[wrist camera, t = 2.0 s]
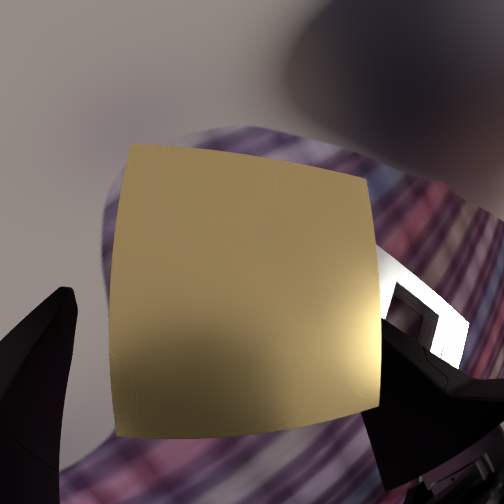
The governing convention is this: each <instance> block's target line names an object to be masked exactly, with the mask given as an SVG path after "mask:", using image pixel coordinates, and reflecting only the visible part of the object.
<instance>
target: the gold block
mask: <svg viewBox="0 0 504 504" xmlns="http://www.w3.org/2000/svg"><path fill="white" fill-rule="evenodd" d="M109 354H110V377H111V390H112V401H113V410H114V419H115V427H116V434H117V436H123V437H135V438H153V439H202V438H220V437H233V436H243V435H252V434H260V433H267V432H274V431H280V430H286V429H292V428H297V427H302V426H307V425H312V424H316V423H321V422H325V421H329V420H333V419H337V418H341V417H344V416H348V415H351V414H355V413H358V412H362V411H365V410H368V409H371V408H374V407H377V406H379V396H380V378H381V306H380V287H379V273H378V262H377V251H376V242H375V234H374V226H373V219H372V212H371V205H370V199H369V193H368V187H367V182H366V179H364V178H360V177H356V176H352V175H348V174H344V173H340V172H335V171H331V170H326V169H322V168H317V167H312V166H308V165H303V164H298V163H292V162H287V161H282V160H276V159H270V158H264V157H258V156H252V155H245V154H238V153H231V152H223V151H215V150H207V149H197V148H188V147H177V146H164V145H148V144H131V145H130V149H129V154H128V158H127V163H126V168H125V173H124V178H123V183H122V189H121V194H120V200H119V207H118V213H117V220H116V228H115V236H114V245H113V255H112V267H111V281H110V302H109Z"/></svg>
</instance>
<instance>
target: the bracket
mask: <svg viewBox="0 0 504 504" xmlns="http://www.w3.org/2000/svg"><path fill="white" fill-rule="evenodd" d="M376 251H377V262H378V273H379V287H380V306H381V317H382V318H383V319H385V317H386V314H387V311H388V308H389V304H390V301H391V298H392V294H393V295H394V296H396V297H397V298H398V299H400V300H401V301H403V302H404V303H405V304H407V305H408V306H409V307H411V308H412V309H413V310H415V311H416V312H418V313H419V314H420V315H422V316H423V321H422V324H421V328H420V331H419V335H418V338H417V342H418V343H419V344H421V345H422V347H423V346H424V347H425V348H427V349H428V350H429V351H431V352H432V353H434V354H435V355H437V356H438V357H440V358H441V359H443V360H445V361H446V362H448V363H449V364H451V365H453V366H454V367H456V368H458V366H459V362H460V359H461V355H462V351H463V347H464V343H465V339H466V334H467V329H468V324H469V323H468V322H467V321H466V320H465V319H464V318H463V317H462V316H460V315H459V314H458V313H457V312H456V311H455V310H454V309H453V308H452V307H451V306H450V305H448V304H447V303H446V302H445V301H444V300H443V299H442V298H441V297H439V296H438V295H437V294H436V293H435V292H434V291H433V290H431V289H430V288H429V287H428V286H427V285H426V284H424V283H423V282H422V281H421V280H420V279H419V278H417V277H416V276H415V275H414V274H413V273H411V272H410V271H409V270H408V269H406V268H405V267H404V266H403V265H402V264H400V263H399V262H398V261H397V260H395V259H394V258H393V257H392V256H390V255H389V254H388V253H386V252H385V251H384V250H383V249H381V248H380V247H379V246H377V245H376Z"/></svg>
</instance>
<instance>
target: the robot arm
mask: <svg viewBox="0 0 504 504" xmlns="http://www.w3.org/2000/svg"><path fill="white" fill-rule="evenodd" d="M77 315H78V308H77V303H76V299H75V295H74V291H73V289H72V288H70V287H59V288H58V289H57V290H56V291H55V292H53V293H52V294H51V295H50V296H49V297H48V298H46V299H45V300H44V301H43V302H42V303H41V304H40V305H38V306H37V307H36V308H35V309H34V310H33V311H32V312H31V313H29V314H28V316H26V317H25V318H24V319H23V320H22V321H21V322H20V323H19V324H18V325H16V326H15V327H14V328H13V329H12V330H11V331H10V332H9V333H8V334H7V335H6V336H5V337H4V338H3V339H2V340H1V341H0V504H60V500H59V452H60V436H61V426H62V416H63V408H64V400H65V394H66V388H67V382H68V376H69V371H70V365H71V360H72V355H73V345H74V337H75V329H76V322H77ZM361 415H362V418H363V421H364V424H365V427H366V430H367V433H368V436H369V439H370V443H371V446H372V447H373V448H372V449H373V453H374V456H375V459H376V463H377V466H378V469H379V473H380V476H381V480H382V483H383V487H384V490H385V492H388V491H390V490H392V489H395V488H397V487H399V486H401V485H404V484H406V483H408V482H410V481H412V480H414V479H416V478H418V477H420V476H421V477H422V479H423V480H422V481H421V482H419V483H418V484H416V485H414V486H413V487H411V488H410V489H408V491H407V494H406V497H405V500H404V503H403V504H504V378H501V379H486V380H482V379H476V378H473V377H471V376H469V375H467V374H466V373H464V372H462V371H461V370H459V369H458V368H456V367H454V366H453V365H451V364H449V363H448V362H446V361H445V360H443V359H441V358H440V357H438V356H437V355H435V354H434V353H432V352H431V351H429V350H428V349H427V348H425V347H424V346H423V347H422V345H421V344H419V343H418V342H417V341H415V340H414V339H412V338H411V337H409V336H408V335H406V334H405V333H404V332H402V331H401V330H399V329H398V328H396V327H395V326H393V325H392V324H390V323H389V322H388V321H386V320H385V319H383V318H382V317H381V378H380V396H379V406H377V407H374V408H371V409H368V410H365V411H362V412H361Z"/></svg>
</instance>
